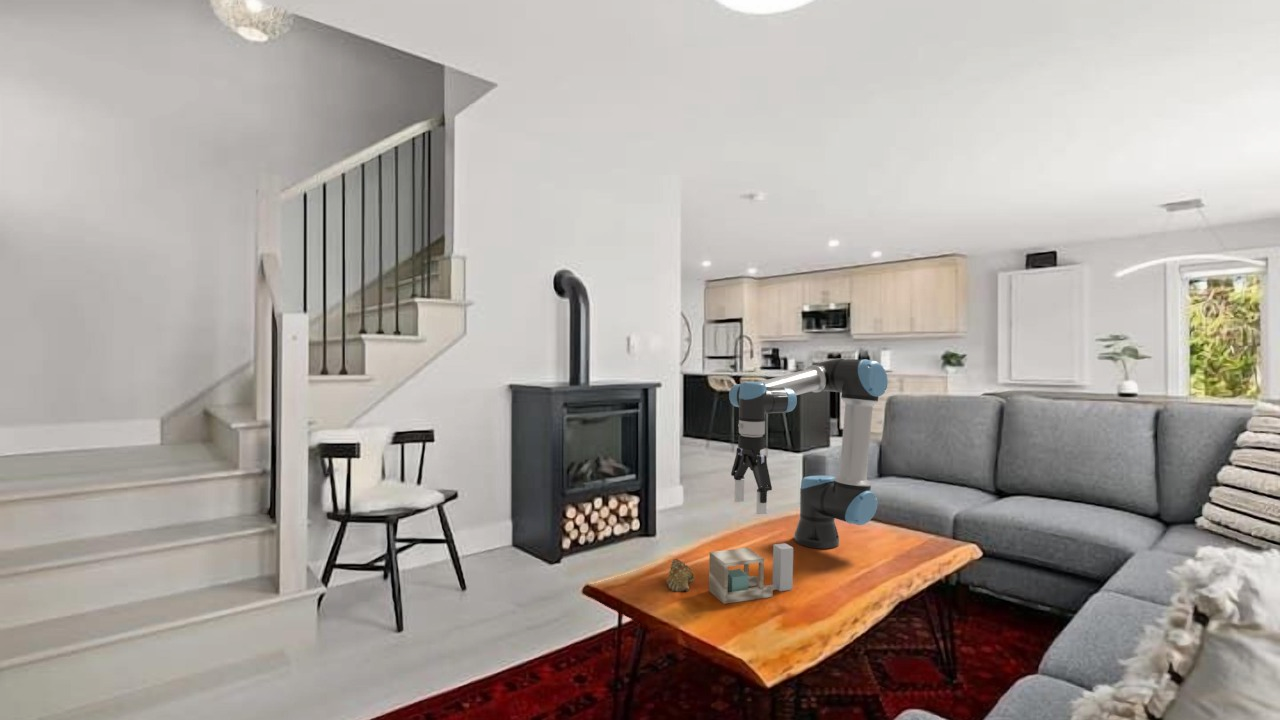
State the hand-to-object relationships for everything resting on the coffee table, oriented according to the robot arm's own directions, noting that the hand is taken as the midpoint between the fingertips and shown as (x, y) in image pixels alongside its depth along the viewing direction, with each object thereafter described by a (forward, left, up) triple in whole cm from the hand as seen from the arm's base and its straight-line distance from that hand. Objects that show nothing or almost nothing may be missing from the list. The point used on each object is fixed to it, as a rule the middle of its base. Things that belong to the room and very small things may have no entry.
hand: (749, 507), depth 179 cm
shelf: (+7, +8, -22) cm, 24 cm away
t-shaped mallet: (+1, +8, -22) cm, 23 cm away
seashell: (+20, -4, -22) cm, 30 cm away
